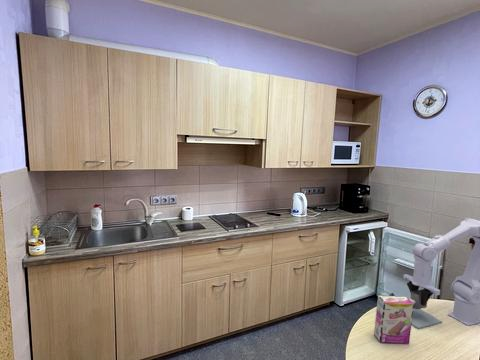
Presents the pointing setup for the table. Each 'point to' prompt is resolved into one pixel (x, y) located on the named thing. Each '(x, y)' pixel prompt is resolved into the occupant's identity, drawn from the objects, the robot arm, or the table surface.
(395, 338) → the candy bar box
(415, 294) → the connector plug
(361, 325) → the table surface
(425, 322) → the slate mat
